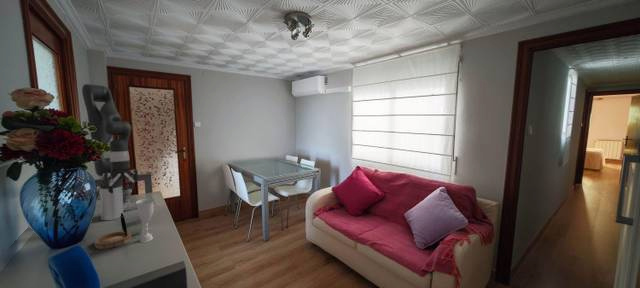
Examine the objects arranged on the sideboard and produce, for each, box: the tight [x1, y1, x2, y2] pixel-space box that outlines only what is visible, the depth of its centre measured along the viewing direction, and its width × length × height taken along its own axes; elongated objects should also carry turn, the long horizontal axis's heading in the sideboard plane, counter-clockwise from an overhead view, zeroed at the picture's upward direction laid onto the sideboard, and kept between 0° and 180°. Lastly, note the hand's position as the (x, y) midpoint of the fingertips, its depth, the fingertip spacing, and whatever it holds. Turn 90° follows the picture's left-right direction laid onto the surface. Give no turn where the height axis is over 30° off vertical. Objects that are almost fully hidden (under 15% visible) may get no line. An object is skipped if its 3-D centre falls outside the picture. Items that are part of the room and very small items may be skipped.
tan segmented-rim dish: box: [93, 230, 132, 250], centre depth 105 cm, size 12×12×2 cm
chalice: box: [135, 198, 156, 243], centre depth 107 cm, size 7×7×18 cm
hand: (121, 191), depth 122 cm, fingers open, 8 cm apart
